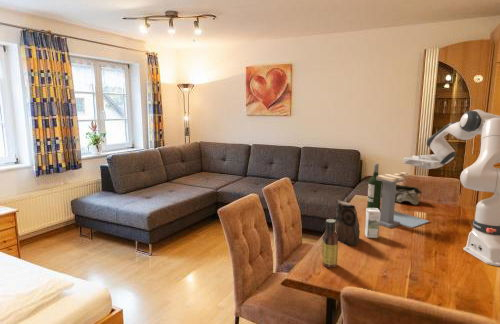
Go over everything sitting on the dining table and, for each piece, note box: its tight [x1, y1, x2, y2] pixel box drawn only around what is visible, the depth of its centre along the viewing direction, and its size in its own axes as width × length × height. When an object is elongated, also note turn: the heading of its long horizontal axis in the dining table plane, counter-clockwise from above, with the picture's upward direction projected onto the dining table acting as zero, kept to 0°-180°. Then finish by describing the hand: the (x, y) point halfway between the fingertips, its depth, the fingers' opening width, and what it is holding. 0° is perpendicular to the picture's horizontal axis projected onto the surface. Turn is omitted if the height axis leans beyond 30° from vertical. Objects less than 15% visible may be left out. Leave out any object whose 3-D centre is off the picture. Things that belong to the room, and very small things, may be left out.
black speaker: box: [334, 199, 361, 247], centre depth 163 cm, size 13×13×20 cm
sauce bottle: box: [321, 218, 339, 269], centre depth 138 cm, size 6×6×20 cm
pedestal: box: [376, 178, 404, 229], centre depth 185 cm, size 10×10×26 cm
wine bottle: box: [366, 162, 383, 211], centre depth 211 cm, size 8×8×30 cm
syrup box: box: [364, 207, 381, 239], centre depth 168 cm, size 6×6×14 cm
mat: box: [380, 210, 430, 229], centre depth 195 cm, size 18×24×1 cm
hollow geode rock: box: [381, 183, 422, 206], centre depth 229 cm, size 28×13×15 cm
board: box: [376, 171, 409, 182], centre depth 186 cm, size 20×10×2 cm, turn 123°
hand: (413, 163), depth 194 cm, fingers open, 8 cm apart
